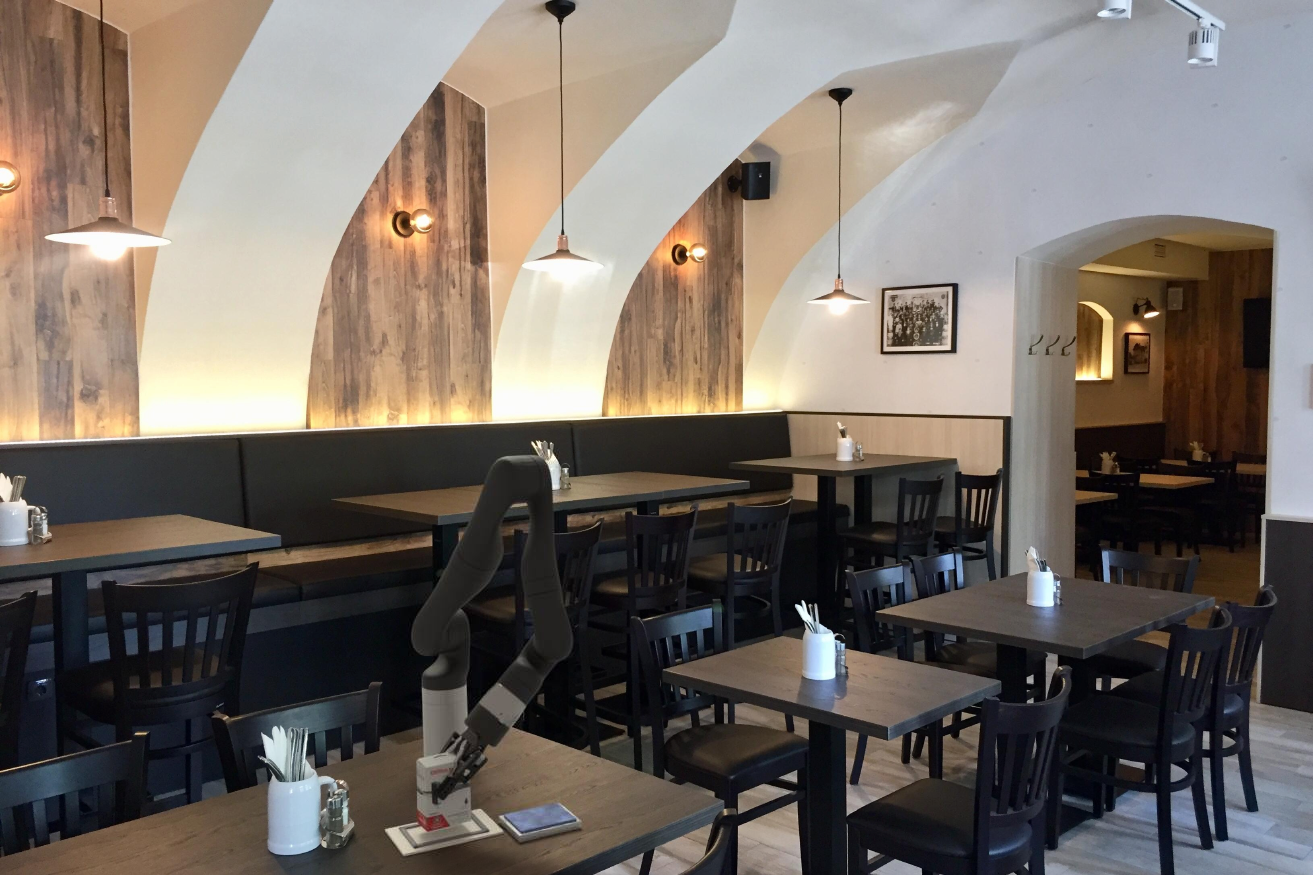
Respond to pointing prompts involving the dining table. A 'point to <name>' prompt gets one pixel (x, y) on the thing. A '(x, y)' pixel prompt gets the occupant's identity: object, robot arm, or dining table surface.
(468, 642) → the robot arm
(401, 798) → the dining table surface
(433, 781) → the ink box
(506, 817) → the ink pad
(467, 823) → the sheet
